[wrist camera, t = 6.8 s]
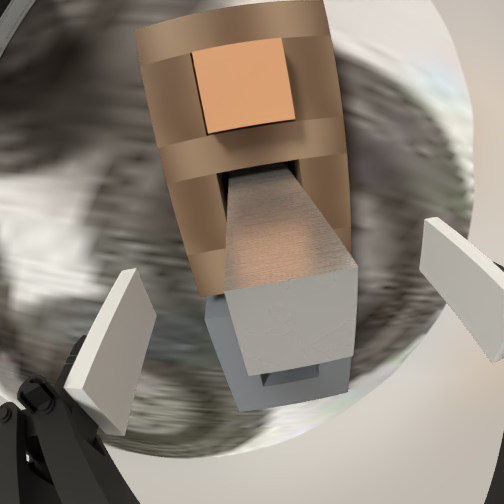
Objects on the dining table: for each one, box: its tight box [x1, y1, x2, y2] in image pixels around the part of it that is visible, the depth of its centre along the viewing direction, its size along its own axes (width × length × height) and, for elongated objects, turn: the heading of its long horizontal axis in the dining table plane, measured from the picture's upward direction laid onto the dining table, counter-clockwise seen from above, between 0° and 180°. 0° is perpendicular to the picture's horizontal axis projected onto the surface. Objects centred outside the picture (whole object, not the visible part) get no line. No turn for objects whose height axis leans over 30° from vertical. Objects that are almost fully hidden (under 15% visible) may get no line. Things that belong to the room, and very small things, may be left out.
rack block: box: [205, 293, 351, 412], centre depth 29 cm, size 12×14×5 cm
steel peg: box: [224, 162, 358, 376], centre depth 17 cm, size 4×4×16 cm
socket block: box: [134, 0, 352, 297], centre depth 20 cm, size 12×20×4 cm, turn 10°
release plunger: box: [192, 38, 295, 133], centre depth 17 cm, size 5×5×5 cm
